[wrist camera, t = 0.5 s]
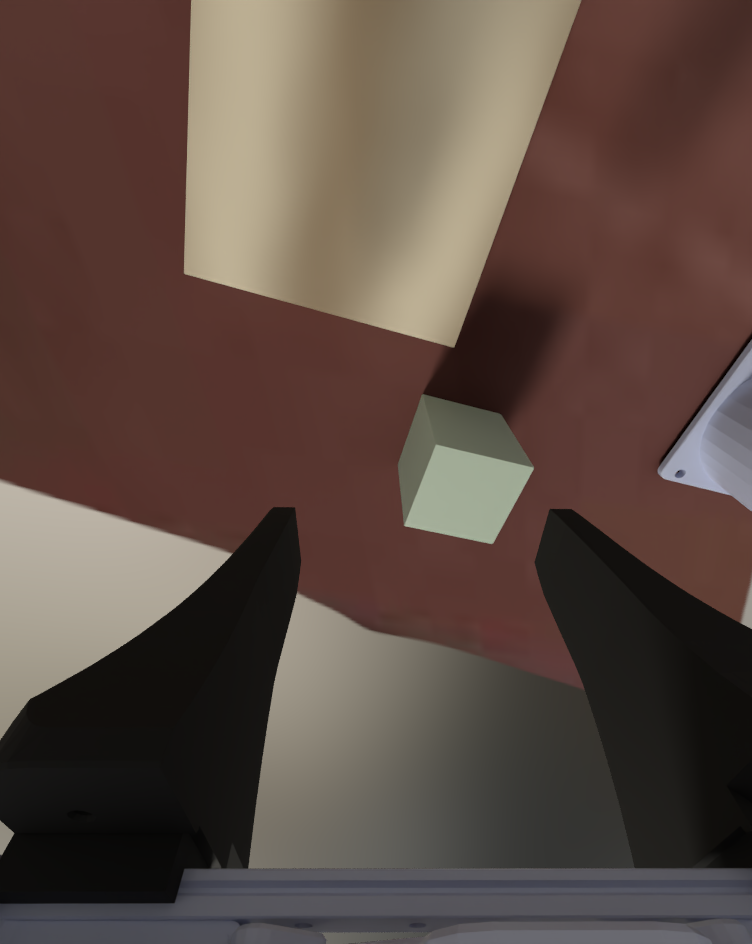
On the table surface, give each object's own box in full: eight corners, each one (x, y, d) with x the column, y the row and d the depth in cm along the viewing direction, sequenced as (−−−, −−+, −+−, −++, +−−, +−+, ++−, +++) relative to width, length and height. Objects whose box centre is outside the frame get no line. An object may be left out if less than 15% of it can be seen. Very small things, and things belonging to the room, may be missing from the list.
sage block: (500, 413, 21) (534, 467, 16) (469, 480, 23) (492, 544, 18) (422, 393, 20) (436, 444, 16) (397, 464, 22) (404, 525, 18)
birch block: (548, 19, 14) (589, -23, 11) (442, 328, 19) (454, 347, 16) (232, -110, 12) (196, -194, 10) (211, 263, 17) (183, 273, 15)
